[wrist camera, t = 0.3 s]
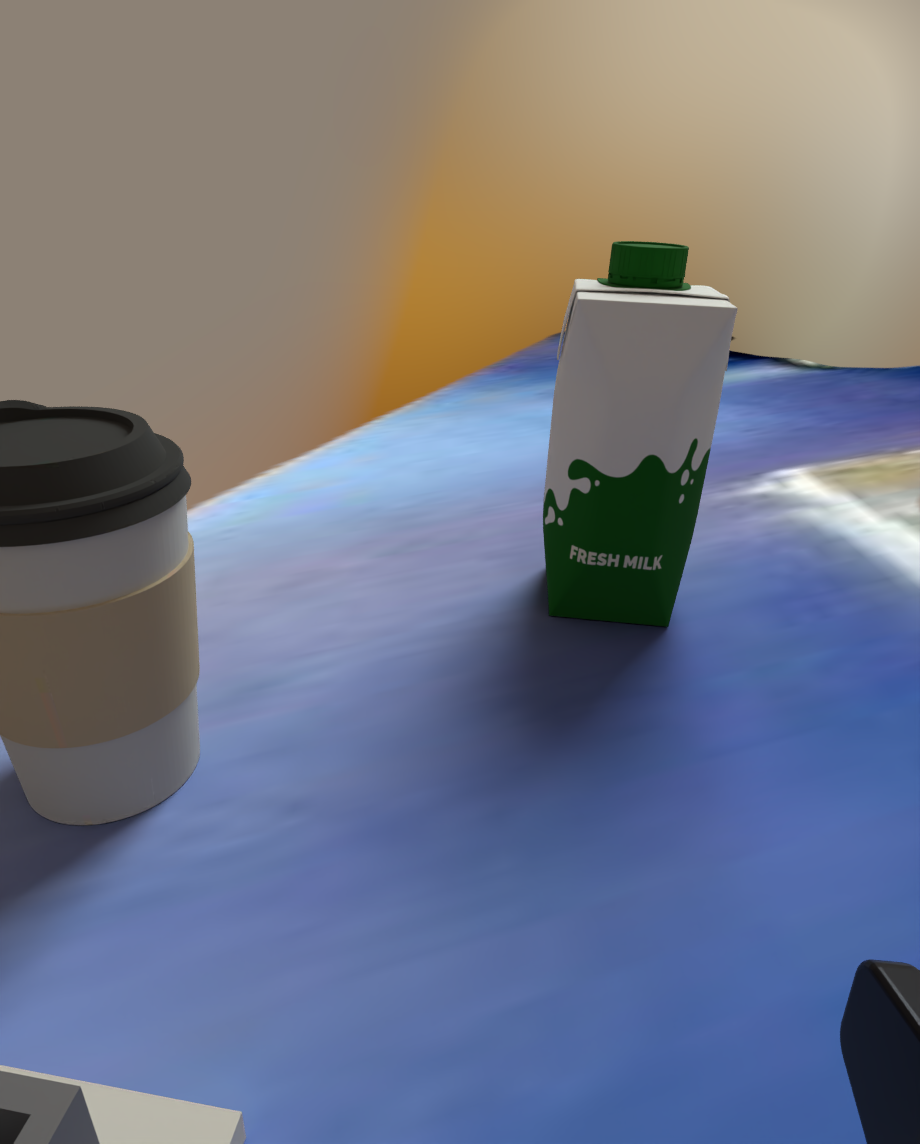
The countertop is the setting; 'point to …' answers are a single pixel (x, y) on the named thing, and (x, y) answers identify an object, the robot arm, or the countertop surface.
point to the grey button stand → (104, 1114)
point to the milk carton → (631, 434)
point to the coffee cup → (95, 612)
